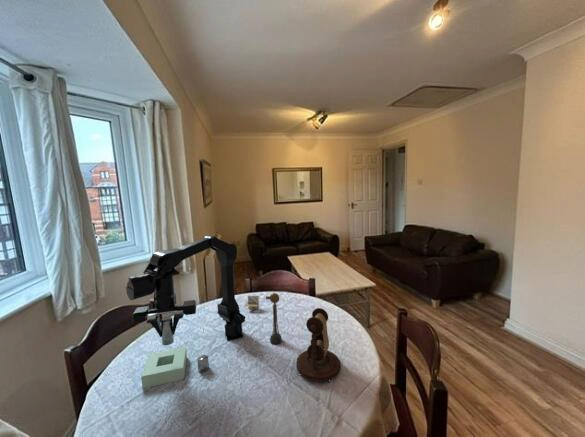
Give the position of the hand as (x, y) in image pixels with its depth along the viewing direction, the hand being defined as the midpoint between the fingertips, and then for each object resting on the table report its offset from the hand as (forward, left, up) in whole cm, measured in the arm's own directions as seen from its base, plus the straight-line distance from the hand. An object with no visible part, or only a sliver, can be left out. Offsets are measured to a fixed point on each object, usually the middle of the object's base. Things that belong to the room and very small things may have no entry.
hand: (167, 335), depth 88 cm
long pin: (0, 0, -3) cm, 2 cm away
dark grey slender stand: (-38, -5, -13) cm, 40 cm away
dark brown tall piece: (-48, +16, -13) cm, 52 cm away
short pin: (-11, +3, -13) cm, 17 cm away
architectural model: (-34, -36, -14) cm, 51 cm away
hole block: (+1, 0, -13) cm, 13 cm away
